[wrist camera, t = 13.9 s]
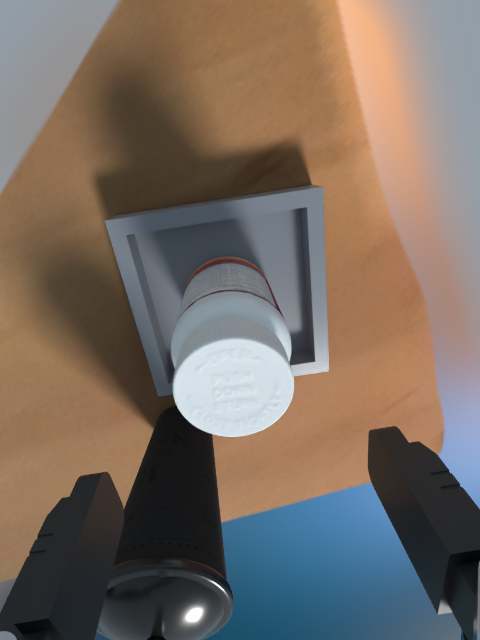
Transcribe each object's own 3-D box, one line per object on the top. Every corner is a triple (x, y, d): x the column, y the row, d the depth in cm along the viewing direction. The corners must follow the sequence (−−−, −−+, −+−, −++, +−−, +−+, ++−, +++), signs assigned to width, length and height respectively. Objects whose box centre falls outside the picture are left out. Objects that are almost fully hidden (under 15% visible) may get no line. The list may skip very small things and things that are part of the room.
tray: (163, 377, 27) (158, 396, 25) (116, 215, 22) (104, 220, 20) (319, 354, 27) (329, 370, 25) (312, 184, 22) (322, 186, 20)
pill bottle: (257, 340, 26) (282, 456, 16) (177, 324, 25) (149, 437, 15) (280, 265, 23) (329, 343, 13) (194, 244, 22) (174, 310, 12)
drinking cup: (245, 421, 30) (285, 815, 12) (191, 470, 32) (155, 867, 14) (176, 375, 27) (93, 783, 9) (123, 431, 30) (-29, 852, 11)
